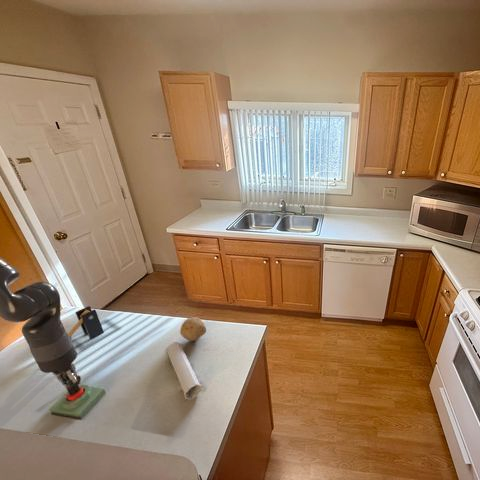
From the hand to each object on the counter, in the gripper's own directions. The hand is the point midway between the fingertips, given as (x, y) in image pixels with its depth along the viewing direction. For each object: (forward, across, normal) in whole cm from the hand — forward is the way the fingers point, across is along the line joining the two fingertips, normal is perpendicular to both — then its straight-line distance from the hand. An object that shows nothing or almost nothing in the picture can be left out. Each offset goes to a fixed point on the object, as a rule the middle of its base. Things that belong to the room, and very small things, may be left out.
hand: (74, 392), depth 77 cm
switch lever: (-2, -27, +13) cm, 30 cm away
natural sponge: (+5, +7, +35) cm, 36 cm away
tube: (+5, +17, +23) cm, 29 cm away
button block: (+5, 0, 0) cm, 5 cm away
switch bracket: (+5, -27, +16) cm, 32 cm away
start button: (+2, 0, 0) cm, 2 cm away
